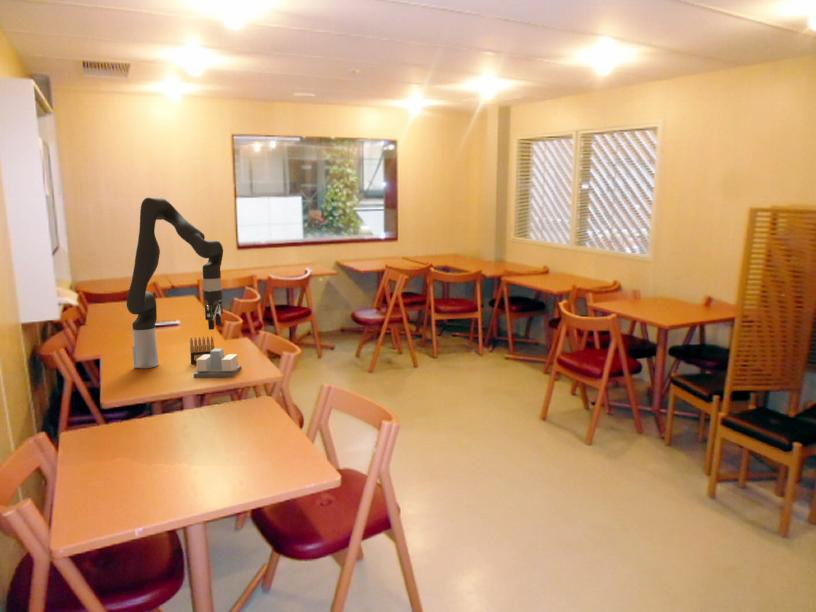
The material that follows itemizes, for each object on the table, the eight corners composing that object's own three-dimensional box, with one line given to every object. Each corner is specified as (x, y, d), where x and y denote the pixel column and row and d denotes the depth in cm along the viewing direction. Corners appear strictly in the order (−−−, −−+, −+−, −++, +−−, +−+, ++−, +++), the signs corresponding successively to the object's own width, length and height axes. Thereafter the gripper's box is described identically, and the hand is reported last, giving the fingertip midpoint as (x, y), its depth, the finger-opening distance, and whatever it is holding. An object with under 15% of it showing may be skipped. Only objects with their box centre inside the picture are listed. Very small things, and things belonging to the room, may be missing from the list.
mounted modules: (197, 371, 251) (196, 359, 251) (204, 365, 260) (204, 354, 259) (231, 371, 251) (230, 359, 250) (238, 365, 260) (237, 354, 259)
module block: (211, 369, 253) (210, 351, 252) (215, 366, 258) (214, 348, 257) (220, 369, 253) (219, 351, 252) (224, 366, 258) (223, 348, 257)
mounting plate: (193, 377, 250) (193, 372, 249) (205, 369, 263) (204, 364, 262) (232, 377, 249) (231, 372, 249) (241, 368, 262) (241, 364, 262)
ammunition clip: (190, 364, 272) (188, 338, 270) (190, 363, 273) (189, 337, 271) (215, 361, 275) (214, 336, 273) (215, 360, 277) (213, 335, 275)
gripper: (209, 286, 257) (212, 324, 260) (197, 291, 243) (200, 330, 246) (227, 286, 257) (229, 324, 260) (215, 291, 243) (218, 330, 246)
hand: (215, 327), depth 253 cm, fingers open, 8 cm apart
